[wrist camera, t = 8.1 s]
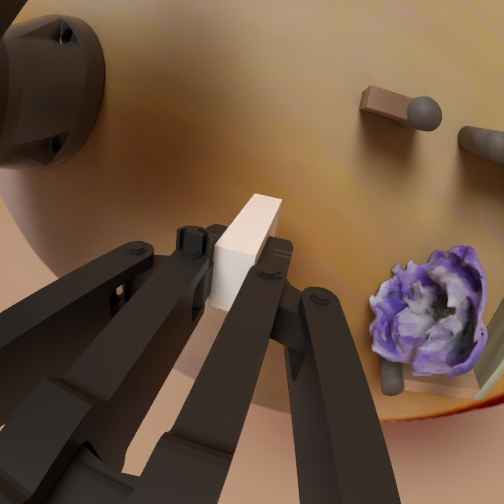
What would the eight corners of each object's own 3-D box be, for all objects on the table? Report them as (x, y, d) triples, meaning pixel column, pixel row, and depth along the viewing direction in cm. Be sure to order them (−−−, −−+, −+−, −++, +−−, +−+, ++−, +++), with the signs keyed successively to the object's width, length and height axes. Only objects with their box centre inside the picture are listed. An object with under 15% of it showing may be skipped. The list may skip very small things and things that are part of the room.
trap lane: (297, 332, 26) (288, 374, 22) (363, 87, 17) (373, 78, 13) (469, 369, 23) (481, 407, 19) (560, 177, 14) (597, 195, 10)
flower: (536, 347, 14) (481, 362, 11) (451, 382, 21) (369, 398, 18) (501, 237, 19) (432, 203, 16) (431, 285, 26) (350, 272, 23)
